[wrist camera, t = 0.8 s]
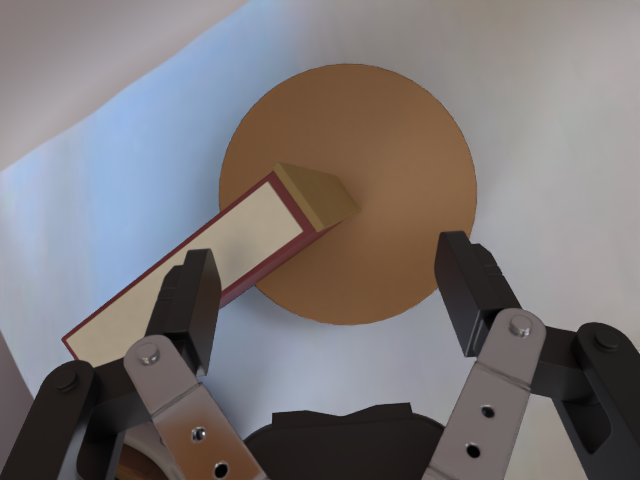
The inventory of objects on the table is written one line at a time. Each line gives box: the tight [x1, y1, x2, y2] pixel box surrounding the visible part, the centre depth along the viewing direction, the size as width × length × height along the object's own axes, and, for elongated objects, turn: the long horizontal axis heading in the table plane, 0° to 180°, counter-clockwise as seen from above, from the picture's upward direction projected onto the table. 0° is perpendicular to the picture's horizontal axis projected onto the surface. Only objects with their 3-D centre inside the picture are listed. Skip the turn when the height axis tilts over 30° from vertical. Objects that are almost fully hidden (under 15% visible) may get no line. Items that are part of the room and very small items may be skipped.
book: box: [61, 64, 477, 368], centre depth 25 cm, size 23×20×16 cm
